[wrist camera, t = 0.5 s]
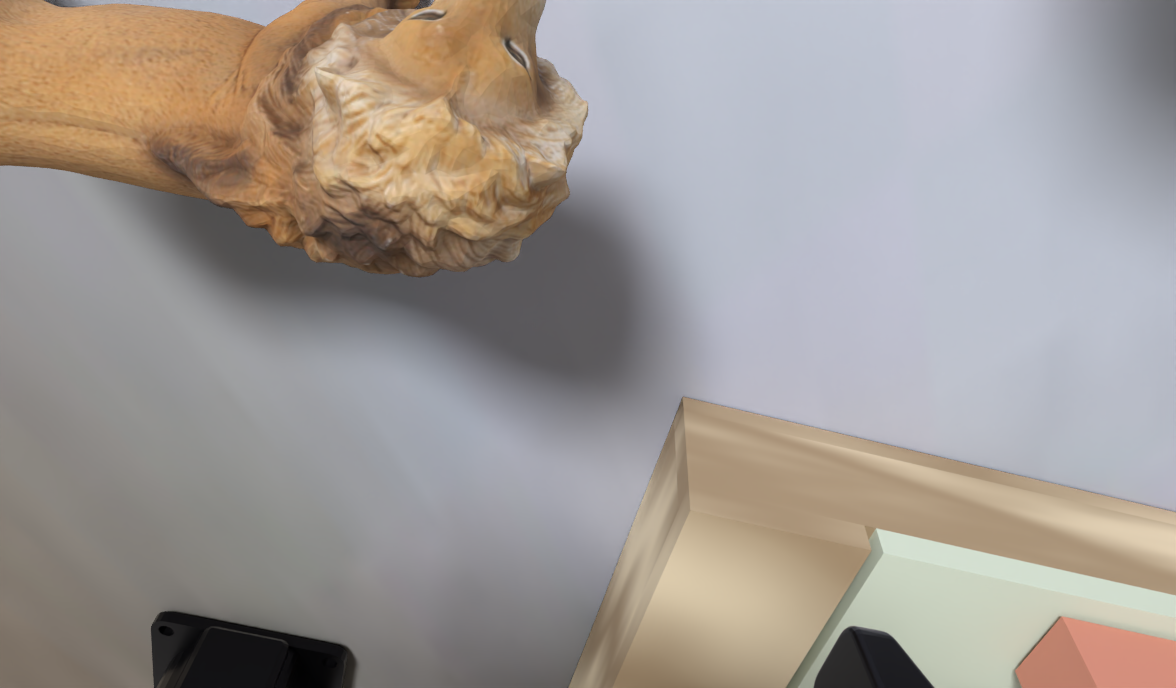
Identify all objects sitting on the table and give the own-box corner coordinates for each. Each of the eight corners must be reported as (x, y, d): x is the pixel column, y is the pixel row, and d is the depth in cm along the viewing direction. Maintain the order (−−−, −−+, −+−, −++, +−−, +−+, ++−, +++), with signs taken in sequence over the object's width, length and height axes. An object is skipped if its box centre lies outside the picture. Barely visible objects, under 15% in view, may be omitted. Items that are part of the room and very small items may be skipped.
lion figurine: (603, -121, 17) (573, -35, 9) (601, 144, 20) (576, 374, 12) (-131, -125, 17) (-719, -47, 10) (-27, 133, 20) (-420, 344, 13)
